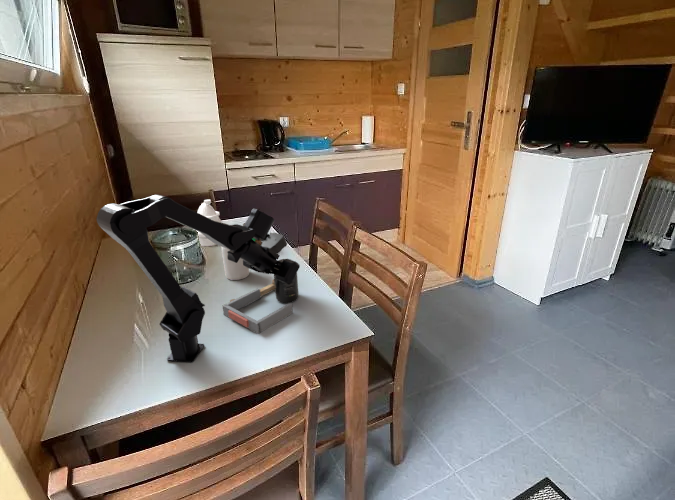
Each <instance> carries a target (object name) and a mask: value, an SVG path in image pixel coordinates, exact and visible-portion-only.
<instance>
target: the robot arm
mask: <svg viewBox="0 0 675 500" xmlns="http://www.w3.org/2000/svg"><path fill="white" fill-rule="evenodd" d="M197 212H198V211H195V210H192V209H191V208H190V207H187V206H184V205H182V204H180V203H178V202H176V201H175V200H173V199H172V198H171V197H168V196H165V195H161V194H154V195H153V194H152V195H151V196H147V197H145V198H141V199H140V198H139V199H135V200H131V201H126V202H123V203H120V204H119V203H118V204H117V203H107V204H106V205H104V206H102V207H101V208H100V209H99V211H98V213H97V216H96V223H97V225H98V227H100V228H101V230H103V231H104V233H106V234H107V235H108V236H109V237H110V238H112V240H114V241H115V242H117V243H118V244H119V245H121V247H123V248H125V250H126V251H127V252H128V253H129V254H130V255H131V257H132V258H133V260H134V261H135V262H136V264H137V265H138V267H140V269H141V270H142V272H143V273H144V274H145V276H146V277H147V278H148V280H149V281H150V282H151V284H152V285H153V286H154V287H155V289H156V290H157V291H158V293H159V294H160V295H161V297H162V301H163V307H164V308H165V310H166V312H165V314H164V316H163V317H162V319H161V321H160V322H159V327H161V329H162V330H163V331H165V332H167V333H168V343H169V347H170V351H171V353H170V354H169V355H168V356H167V358H166V360H167V362H177V363H178V362H179V363H180V362H181V363H182V362H183V363H193V362H195V360H196V359H197V357H198V356H199V355H200V353H201V352H202V351H203V349H204V348H205V343H199V340H198V336H199V335H200V334H201V330H202V324H203V320H204V317H205V314H206V311H205V308H204V307H205V306H206V304H205V303H203V302H202V301H201V299H200V297H199V295H198V293H197V292H195V291H193V290H191V289H189V288H187V287H185V286H184V285H183V286H182V287H181V285H180V283H178V281H177V280H176V278H175V277H174V275H173V274H172V272H171V271H170V269H169V268H168V267H167V265H166V264H165V262H164V261H163V259H162V258H161V256H160V255H159V254H158V252H157V251H156V250H155V247H154V246H153V245H152V244H151V242H150V239H149V238H150V237H149V233H148V229H147V228H150V227H151V226H153V225H154V224H156V223H157V222H158V221H161V220H162V219H164V218H167V219H169V220H172V221H174V222H176V223H178V224H180V225H183V226H185V227H188V228H189V229H192V230H196V231H198V232H200V233H202V234H203V235H204V236H205V237H206V238H208V239H209V240H210V241H212V242H213V243H215V244H216V245H215V246H219V247H224V248H227V249H229V250H230V251H228V252H227V253H228V256H227V257H228V258H227V259H228V260H230V261H232V262H235V263H237V262H238V261H239V259H240V258H241V259H243V265H244V266H245V267H247V268H249V270H252V271H253V272H254V271H255V272H257V273H260V274H261V273H262V274H266V275H274V272H275V271H276V270H278V271H277V273H276V279H277V280H279V281H281V282H283V283H286V284H288V285H289V284H291V283H292V281H295V280H296V276H295V275H296V273H297V274H298V271H299V269H300V266H301V265H300V264H299V263H298V262H296V260H295V261H294V260H293V259H291V258H284V259H285V260H283V262H280V261H278V259H279V258H280V254H279V253H280V252H281V251H282V250H283V249H284V248H286V247H287V245H288V242H287V241H286V239H285V237H284V235H283V234H280V233H279V232H270V230H271V229H272V227H273V225H274V223H275V221H276V220H275V218H273V216H271V215H269V214H267V213H265V212H263V211H261V210H260V209H258V208H252V209H251V212H250V214H249V215H248V218H247V219H246V221H245V222H246V223H245V222H244V223H245V224H244V223H243V224H244V226H243V224H242V225H241V224H238V223H235V224H229V223H224V222H222V221H221V222H218V221H214V220H211V219H209V218H207V217H205V216H203V215H201V214H199V213H197ZM269 232H270V233H269ZM252 238H254V239H256V240H261V245H259V244H258V243H257V242H255V241H254V240H252ZM290 259H291V260H290ZM277 264H278V265H277ZM279 265H280V266H279Z"/></svg>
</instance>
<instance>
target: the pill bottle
mask: <svg viewBox="0 0 675 500" xmlns="http://www.w3.org/2000/svg"><path fill="white" fill-rule="evenodd" d="M220 247H221V246H220ZM228 251H230V250H229V249H227V248H224V247H221V256H222V261H223V267H224V268H223V269H224V274H225V278H226V279H228V280H231V281H240V280H243V279H245V278H247V277H248V276H249V275H250V269H249V268H247V267H245V266H244V265H243V259H241V258H240V259H239V261H238V262H237V263H235V262H232V261H230V260H228V259H227V258H228V257H227V256H228V253H227V252H228Z"/></svg>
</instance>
